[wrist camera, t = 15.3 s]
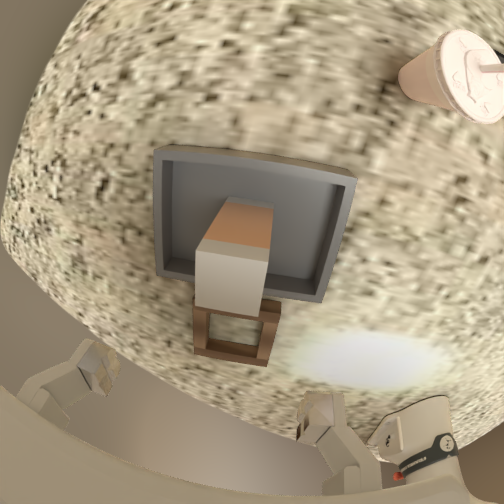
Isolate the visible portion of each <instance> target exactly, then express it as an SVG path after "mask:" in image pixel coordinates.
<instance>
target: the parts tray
mask: <svg viewBox="0 0 504 504" xmlns="http://www.w3.org/2000/svg"><path fill="white" fill-rule="evenodd" d="M357 180H358V178H357V177H355V176H354V175H353V174H352V173H351V172H350V171H349V170H348V169H343V168H339V167H334V166H330V165H325V164H320V163H315V162H310V161H305V160H299V159H294V158H288V157H282V156H276V155H269V154H263V153H256V152H248V151H240V150H232V149H223V148H213V147H202V146H189V145H174V144H170V145H167V146H164V147H161V148H158V149H155V150H154V160H153V220H154V244H155V261H156V275H157V276H162V277H167V278H172V279H177V280H182V281H187V282H193V283H195V256H196V249H197V247H198V246H199V244H200V242H201V241H202V239H203V237H204V236H205V234H206V232H207V231H208V229H209V227H210V226H211V224H212V222H213V221H214V219H215V217H216V216H217V214H218V213H219V211H220V209H221V208H222V206H223V205H224V203H225V201H226V200H227V198H228V197H229V196H230V197H237V198H244V199H251V200H257V201H264V202H270V203H274V211H273V221H272V231H271V241H270V251H269V260H268V267H267V272H266V278H265V283H264V288H263V294H262V295H268V296H274V297H281V298H287V299H294V300H301V301H308V302H315V303H322V300H323V297H324V294H325V291H326V288H327V285H328V282H329V279H330V276H331V273H332V270H333V267H334V264H335V260H336V257H337V254H338V251H339V247H340V244H341V240H342V237H343V233H344V230H345V226H346V223H347V219H348V215H349V212H350V208H351V204H352V200H353V196H354V192H355V188H356V184H357Z"/></svg>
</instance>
